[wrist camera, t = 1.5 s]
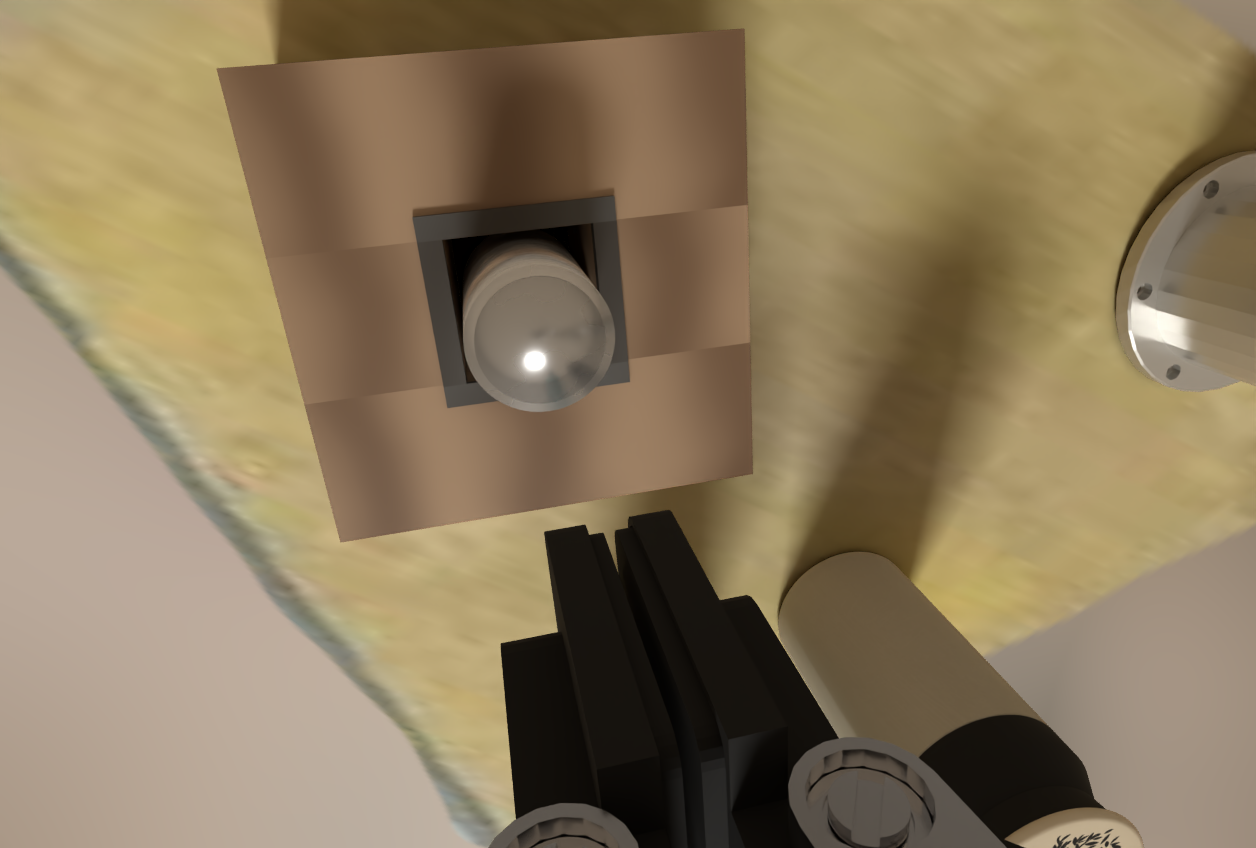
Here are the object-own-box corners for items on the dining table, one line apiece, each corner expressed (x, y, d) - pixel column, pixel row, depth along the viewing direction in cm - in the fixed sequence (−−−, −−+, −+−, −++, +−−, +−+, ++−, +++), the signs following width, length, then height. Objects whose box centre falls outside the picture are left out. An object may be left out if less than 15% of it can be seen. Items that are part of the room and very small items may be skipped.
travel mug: (752, 600, 44) (927, 895, 27) (872, 522, 43) (1122, 775, 27) (811, 686, 47) (999, 995, 31) (923, 615, 47) (1174, 890, 30)
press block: (680, 46, 32) (746, 27, 25) (697, 404, 38) (754, 476, 31) (276, 78, 30) (214, 68, 22) (364, 454, 36) (339, 545, 29)
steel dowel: (572, 220, 29) (608, 257, 22) (584, 334, 31) (621, 401, 24) (453, 233, 28) (451, 275, 21) (472, 349, 30) (476, 423, 23)
